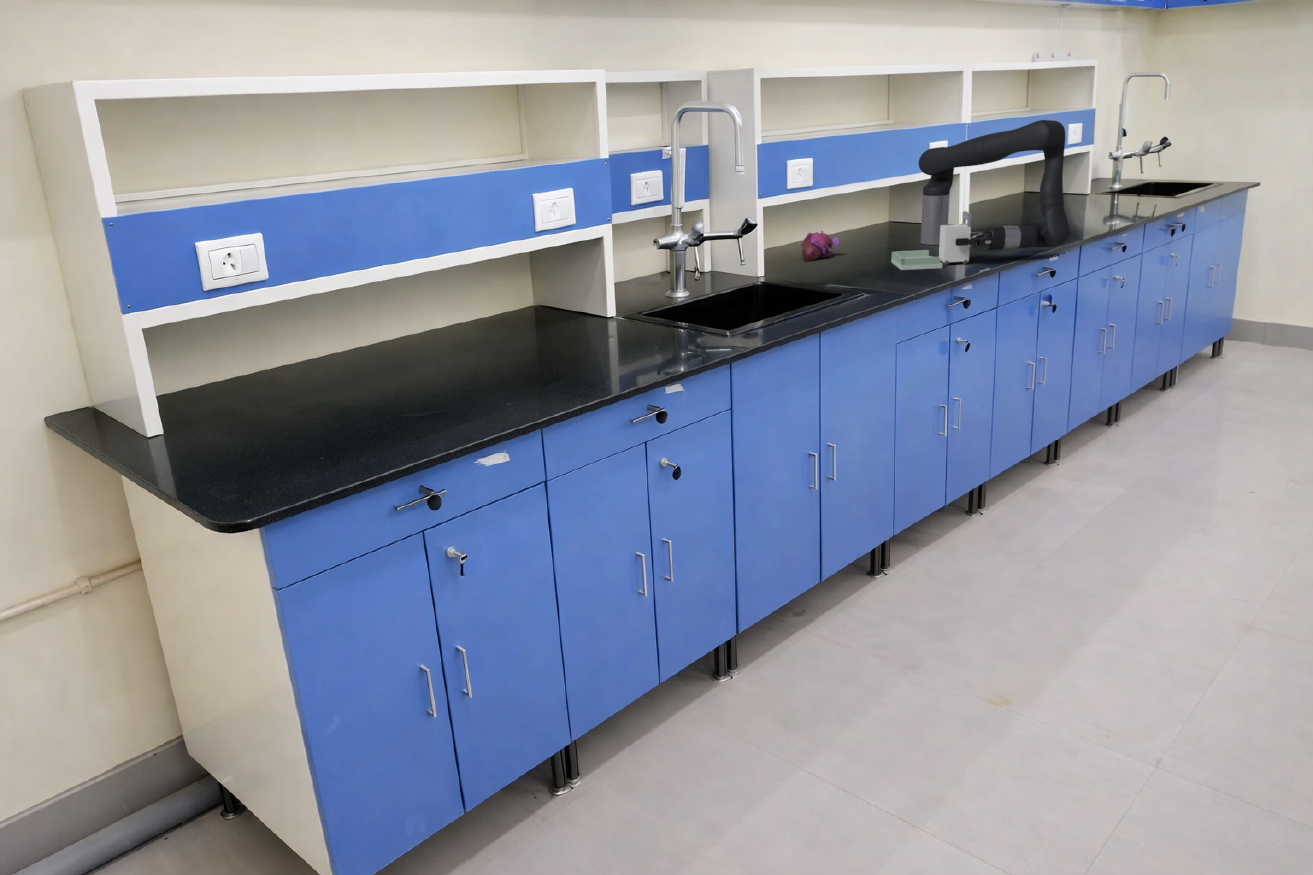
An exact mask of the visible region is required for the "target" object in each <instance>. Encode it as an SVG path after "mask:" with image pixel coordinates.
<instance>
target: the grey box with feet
mask: <svg viewBox="0 0 1313 875" xmlns="http://www.w3.org/2000/svg"><path fill="white" fill-rule="evenodd" d="M971 221H972V213H971V212H968V211H965V210H964V211H962V222H961V223H959V224H948V225H941V226H940V244H939V247H938V249H939V251H938V257H940V260H939V261H940V262H941V263H942V265H945V266H947V265H949V264H950V263H960V262H961V263H962V264H963V265H967V264H968V263H969V261H970V248H971V246H968V245H966V246H956V239H959V238H968V239H969V238H970V234H971V232H972V231H971V230H972V227H971V223H972V222H971Z"/></svg>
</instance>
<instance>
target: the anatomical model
mask: <svg viewBox="0 0 1313 875" xmlns="http://www.w3.org/2000/svg"><path fill="white" fill-rule="evenodd" d="M824 232H825V231H823V230H821V231H820V232H818V231H816V232H814V233H812V232H808V233H807V234H806V236H805V238H804V239H803V240H802V242H801V243H800V244H799V245H800V246H801V256H802V259H803V261H805V262H813V261H814V260H816V259H818V258H826V257H829V255H833V253H834V252H835V251H834V249H835V248H838V247H839V245H840V239H839V237H838V236H835V237H833V238H831V237H830V235H828V234H826V233H824Z"/></svg>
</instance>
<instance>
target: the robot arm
mask: <svg viewBox="0 0 1313 875" xmlns="http://www.w3.org/2000/svg"><path fill="white" fill-rule="evenodd" d="M1065 147H1066V129H1065V127H1064V125H1063V123H1061V122H1060V121H1058V120H1052V119H1051V120H1049V119H1040V120H1035V121H1033V122H1031V123H1028V124H1025V125H1023V126H1021V127H1018V128H1015V129H1011V130H1003V131H997V132H993V133H989V134H988V133H987V134H984V135H980V136H977V137H974V138H970V139H968V140H967V139H966V140H965V141H961V142H958V143H956V144H954V145H950V146H941V147H934V148H929V149H926V150H925V151H924V152H923V153H922V154H920V157H919V159H918V167H919V170H920V171H921V172H922V173H924V174H925V175H928V176H930V179H929V180H928V182H927V183H926V184H925V185H924V186H923V188H922V201H921V202H922V206H921V208H922V209H921V223H920V224H921V225H920V244H922V245H927V246H929V245H931V246H933V245H934V246H935V245H936V246H937V245H940V226H941V225H949V214H950V211H949V210H950V209H949V208H950V195H951V194H950V193H951V189H952V185H953V182H954V172H955V169H956V168H964V167H974V166H982V165H986V164H991V163H995V162H998V161H1001V160H1003V159H1006V158H1007V157H1008V156H1011V155H1013V154H1016V153H1022V152H1027V151H1028V152H1029V151H1042V152H1043V157H1044V168H1043V169H1044V171H1043V175H1042V178H1041V182H1040V187H1039V205H1040V213H1041V216H1043V218H1045V222H1046V223H1045V224H1046V225H1041V226H1040V225H1037V226H1034V225H994V226H990V225H989V226H988V227H987V228H986V230H985V233H984V232H981V231H971V234H970V238H969V239H968V238H959V239H956V246H966V245H968V246H970V247H973V248H977V247H979V248H980V247H985V248H986V250H987V251H1002V250H1003V251H1004V250H1006V251H1007V250H1013V249H1024V248H1025V249H1027V248H1055V247H1059V246H1062V245H1065V244H1066V243H1067V242H1068V240H1069V238H1070V231H1071V229H1070V224H1069V221H1068V217H1067V216H1068V215H1067V213H1066V211H1065V200H1064V184H1063V182H1064V181H1063V176H1064V174H1063V173H1064V172H1063V171H1064V159H1065V157H1064V156H1065Z"/></svg>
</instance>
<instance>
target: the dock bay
mask: <svg viewBox="0 0 1313 875" xmlns="http://www.w3.org/2000/svg"><path fill="white" fill-rule="evenodd" d="M890 260H891V261H890V262H891V263H892V264H893V265H894V266H895V267H896V268H898V269H899V270H900V271H908V270H909V271H910V270H927V269H929V270H930V269H943V263H941V262H940V261H939V260H940V257H939V256H932V255H930V250H929V249H923V250H922V249H921V250H920V249H919V250H899V251H898V250H896V251H891V259H890Z"/></svg>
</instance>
